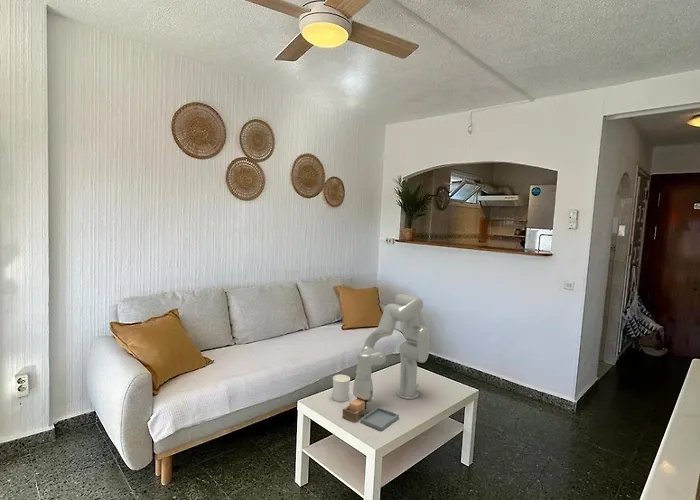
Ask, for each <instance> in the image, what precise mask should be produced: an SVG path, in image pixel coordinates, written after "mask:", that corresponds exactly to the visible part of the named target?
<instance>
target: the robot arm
mask: <svg viewBox="0 0 700 500" xmlns="http://www.w3.org/2000/svg"><path fill="white" fill-rule="evenodd" d="M394 300H395V303H388V304H386V306H385V307H384V311H383V313H382V316H381V318H380V321H379V323H378V325H377V326H378V327H376V329H375V330H373V331H372V332H371V333H370V334H369V335H368V336H367V338H366V339H365V342H364V344H363V345H362V348H361V351H360V352H358V353H357V362H356V363H357V364H356V371H355V372H354V373H355V375H356V376H355V378H354V382H353V387H352V388H353V389H352V395H353V397H355V398H356V399H357V398H358V399H361V400H363V401H365V411H366V410H367V404H368V403H372V402H373V396H374V385H373V379H372V367H373V366H376V367H377V366H381V365H384V363H386V361H387V356H386V354H385V352H383V351H381V350H379V349H377V348H375V346H376V343H377V342H378V341H379V340H381V339H383V338H385V337H389V336H392V334H393V332H394V329H395V328H396V327H395V326H396V325H397V322H399V323H403V328H402V333H403V337H404V338H406V339H407V340H404V341H402V342H401V344H400V346H399V355H400V368H399V369H400V370H399V374H400V375H399V388H398V389H397V390H396V395H397V396H398V397H399V398H401V399H404V400H414V399H417V398H418V397H419V392H418V391H417V388H418V387H419V384H418V383H417V378H418V377H417V376H418V375H417V373H418V364H417V362H418V363H422V364H423V363H425V362H426V361H427V360H428V358H429V355H430V340H431V339H430V338H431V337H430V336H431V334H430V330H429V329H428V328H427V327H425V326H424V325H420V323H419V313H420V312H421V311H422V309H423V307H424V302H423V300H422V299H421V298H420V297H419V296H416V295H410V294H405V293H399V294H397V295H395V299H394Z"/></svg>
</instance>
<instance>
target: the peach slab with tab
mask: <svg viewBox="0 0 700 500" xmlns="http://www.w3.org/2000/svg"><path fill="white" fill-rule="evenodd" d="M348 406H349V411H351V412H354V413H355V412H357V411H358V410H360V409H362V408H365V401H363V400H361V399H358V398H357V397H356V399H354V400H352V401H350V402H349V405H348Z"/></svg>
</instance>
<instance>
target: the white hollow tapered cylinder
mask: <svg viewBox="0 0 700 500" xmlns="http://www.w3.org/2000/svg"><path fill="white" fill-rule="evenodd" d="M350 383H351V377H350V376H349V375H345V374H335V375H334V376H332V395H333V397H332V398H333V400H334V401H335V402H338V403H344V402H347V401H348V400H349V392H350Z"/></svg>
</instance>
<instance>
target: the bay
mask: <svg viewBox="0 0 700 500" xmlns="http://www.w3.org/2000/svg"><path fill="white" fill-rule="evenodd" d="M365 415H366V410H365V408H362V409H360V410H358V411H357V412H355V413H354V412H351V411H349V405H348V406H346V407H344V408H343V409H342V419H344V420H347V421H348V422H349V421H350V422H351V423H354V424H355V423H357V422H360V419H361V418H362V417H364V416H365Z"/></svg>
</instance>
